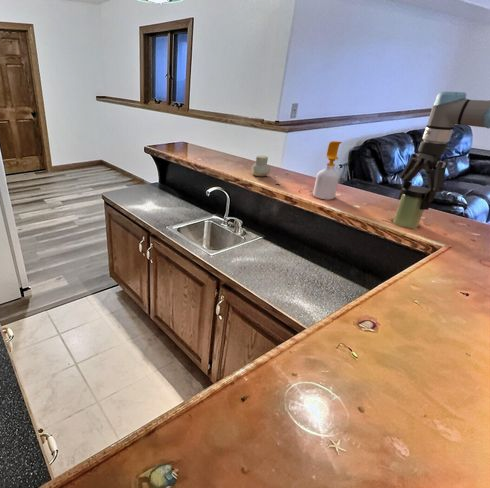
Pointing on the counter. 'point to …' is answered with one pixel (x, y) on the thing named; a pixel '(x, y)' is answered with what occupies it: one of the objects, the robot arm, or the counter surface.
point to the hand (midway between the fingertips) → (412, 203)
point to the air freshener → (260, 166)
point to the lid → (414, 191)
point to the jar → (408, 212)
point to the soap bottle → (328, 175)
